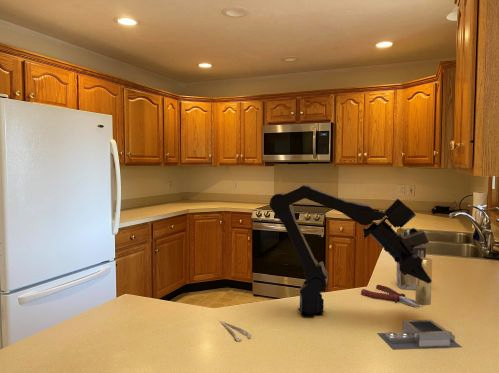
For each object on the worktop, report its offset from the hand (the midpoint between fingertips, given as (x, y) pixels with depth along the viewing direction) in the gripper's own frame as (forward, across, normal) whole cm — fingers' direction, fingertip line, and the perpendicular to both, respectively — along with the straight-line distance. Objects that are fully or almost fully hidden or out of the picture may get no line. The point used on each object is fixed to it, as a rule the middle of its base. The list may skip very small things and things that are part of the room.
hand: (429, 280), depth 102 cm
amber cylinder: (+4, 0, +6) cm, 7 cm away
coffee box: (+10, +38, +10) cm, 40 cm away
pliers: (+4, +21, +17) cm, 27 cm away
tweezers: (-28, -18, +48) cm, 58 cm away
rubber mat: (+7, -11, +12) cm, 18 cm away
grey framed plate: (+7, -11, +12) cm, 17 cm away
